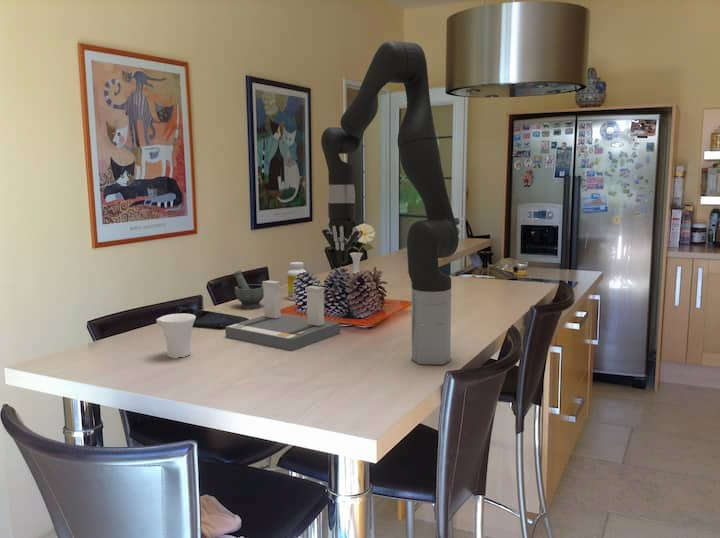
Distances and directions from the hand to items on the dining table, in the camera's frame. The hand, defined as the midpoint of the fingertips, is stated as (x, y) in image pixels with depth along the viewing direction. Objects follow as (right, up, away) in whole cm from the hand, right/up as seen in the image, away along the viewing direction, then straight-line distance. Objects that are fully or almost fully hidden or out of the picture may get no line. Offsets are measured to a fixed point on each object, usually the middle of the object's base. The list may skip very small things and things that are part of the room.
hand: (342, 263), depth 176 cm
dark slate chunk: (-41, -18, +13) cm, 46 cm away
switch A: (-7, -17, -5) cm, 19 cm away
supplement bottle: (-17, -12, +45) cm, 49 cm away
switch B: (-20, -15, +5) cm, 26 cm away
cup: (-40, -23, -21) cm, 51 cm away
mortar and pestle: (-32, -14, +33) cm, 48 cm away
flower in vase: (+4, -10, +59) cm, 60 cm away
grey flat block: (-16, -20, -3) cm, 26 cm away
